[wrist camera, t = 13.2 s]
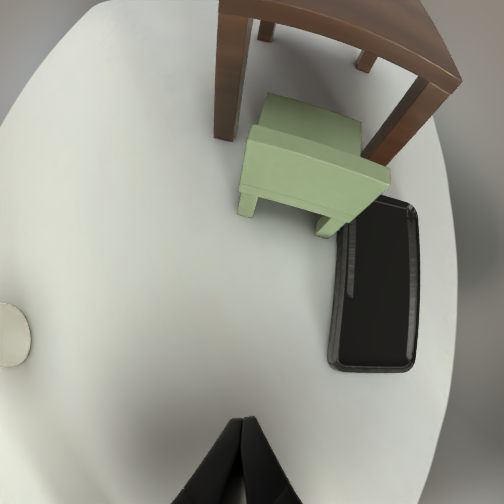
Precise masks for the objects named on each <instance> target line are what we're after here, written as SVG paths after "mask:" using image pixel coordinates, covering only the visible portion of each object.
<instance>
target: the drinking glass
mask: <svg viewBox="0 0 504 504" xmlns="http://www.w3.org/2000/svg"><path fill="white" fill-rule="evenodd" d="M30 344H31V336H30V329H29V326H28V323H27V321H26V319H25V317H24V315H23V314H22V313H21V311H20V310H18V309H17V308H16V307H14V306H12V305H9V304H5V303H1V302H0V368H5V367H14V366H18V365H20V364H21V363H22V362H23V361H24V360H25V359H26V357H27V355H28V353H29V350H30Z"/></svg>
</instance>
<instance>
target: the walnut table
mask: <svg viewBox="0 0 504 504" xmlns="http://www.w3.org/2000/svg"><path fill="white" fill-rule="evenodd" d="M218 13H219V14H218V30H217V49H216V71H215V101H214V138H218V139H223V140H227V141H231V142H233V140H234V137H235V134H236V131H237V129H238V122H239V115H240V107H241V99H242V92H243V85H244V78H245V71H246V64H247V57H248V50H249V43H250V37H251V30H252V24H253V18H254V19H259V20H261V21H260V26H259V32H258V38H257V39H258V40H263V41H267V42H271V41H272V38H273V36H274V31H275V27H276V23H278V24H282V25H286V26H290V27H294V28H298V29H302V30H305V31H309V32H312V33H316V34H319V35H322V36H325V37H328V38H331V39H334V40H337V41H340V42H343V43H346V44H348V45H351V46H354V47H356V48H359V49H361V50H362V51H361V53H360V55H359V57H358V59H357V61H356V69H359V70H361V71H364V72H366V73H369V72H370V70H371V68H372V66H373V64H374V63H375V61H376V59H377V57H381V58H383V59H385V60H387V61H390V62H392V63H394V64H396V65H398V66H400V67H402V68H404V69H406V70H408V71H410V72H412V73H414V74H416V75H418V77H417V79H416V80H415V81H414V83H413V84H412V85H411V87H410V88H409V90H408V91H407V92H406V94H405V95H404V96H403V98H402V99H401V101H400V102H399V103H398V105H397V106H396V107H395V109H394V110H393V111H392V113H391V114H390V116H389V117H388V118H387V120H386V121H385V122H384V124H383V125H382V126H381V128H380V129H379V130H378V132H377V133H376V134H375V136H374V137H373V138H372V140H371V141H370V142H369V144H368V145H367V146H366V148H365V149H364V150H363V152H362V153H361V154H360V157H362V158H364V159H367V160H370V161H372V162H375V163H377V164H380V165H382V166H386V165H387V164H388V163H389V162H390V161H391V160H392V159H393V158H394V157H395V155H396V154H397V153H398V152H399V151H400V150H401V149H402V148H403V147H404V146H405V145H406V143H407V142H408V141H409V140H410V139H411V138H412V137H413V136H414V135H415V134H416V132H417V131H418V130H419V129H420V128H421V127H422V126H423V125H424V124H425V122H426V121H427V120H428V119H429V118H430V117H431V116H432V115H433V113H434V112H435V111H436V110H437V109H438V108H439V107H440V106H441V104H442V103H443V102H444V101H445V100H446V99H447V97H448V96H449V95H450V94H452V93H453V92H454V91H455V90H456V88H457V87H458V86H459V85H460V84H461V82H462V79H461V76H460V74H459V72H458V70H457V67H456V65H455V63H454V61H453V59H452V57H451V55H450V53H449V51H448V49H447V47H446V45H445V43H444V41H443V39H442V37H441V35H440V34H439V32H438V30H437V28H436V27H435V25H434V23H433V21H432V20H431V18H430V16H429V15H428V13H427V11H426V10H425V8H424V7H423V5H422V4H421V2H420V1H419V0H219V8H218Z"/></svg>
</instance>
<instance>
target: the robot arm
mask: <svg viewBox="0 0 504 504" xmlns="http://www.w3.org/2000/svg"><path fill="white" fill-rule="evenodd" d="M171 504H303V503H302V502H301V500H300V499H299V497H298V496H297V494H296V492H295V491H294V489H293V487H292V485H291V484H290V482H289V480H288V478H287V477H286V475H285V473H284V471H283V469H282V467H281V465H280V464H279V462H278V460H277V458H276V456H275V454H274V452H273V450H272V448H271V447H270V445H269V443H268V441H267V439H266V437H265V435H264V433H263V431H262V429H261V427H260V425H259V423H258V421H257V419H256V417H255V416H250V417H244V418H232V419H230V421H229V422H228V424H227V425H226V427H225V428H224V430H223V431H222V433H221V434H220V436H219V438H218V439H217V441H216V442H215V444H214V445H213V446H212V448H211V449H210V451H209V452H208V454H207V455H206V457H205V458H204V460H203V461H202V463H201V464H200V465H199V467H198V468H197V470H196V471H195V473H194V474H193V475H192V477H191V478H190V480H189V481H188V482H187V484H186V485H185V486H184V489H182V490H181V492H180V493H179V494H178V496H177V497H176V498H175V500H174V501H173V502H172V503H171Z"/></svg>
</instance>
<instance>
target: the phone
mask: <svg viewBox="0 0 504 504" xmlns="http://www.w3.org/2000/svg"><path fill="white" fill-rule="evenodd" d="M419 308H420V244H419V226H418V215H417V212H416V210H415V208H414V207H413V206H412V205H411V204H409V203H407V202H404V201H400V200H397V199H394V198H390V197H387V196H383V195H379V196H378V197H377V198H376V199H375V200H374V201H373V202H372V203H371V204H370V205H369V206H367V207H366V208H365V209H364V210H363V211H362V212H361V213H360V214H359V215H357V216H356V217H355V218H354V219H353V220H352V221H351V222H350V223H347V222H346V223H345V224H344V225H343V226H342V227H341V228H340V229H339V231H338V251H337V267H336V280H335V292H334V303H333V314H332V323H331V332H330V340H329V348H328V362H329V364H330V366H331V367H332V368H333V369H335V370H338V371H343V372H358V373H404V372H407V371H409V370H410V369H411V368H412V367H413V365H414V363H415V359H416V350H417V339H418V326H419Z"/></svg>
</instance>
